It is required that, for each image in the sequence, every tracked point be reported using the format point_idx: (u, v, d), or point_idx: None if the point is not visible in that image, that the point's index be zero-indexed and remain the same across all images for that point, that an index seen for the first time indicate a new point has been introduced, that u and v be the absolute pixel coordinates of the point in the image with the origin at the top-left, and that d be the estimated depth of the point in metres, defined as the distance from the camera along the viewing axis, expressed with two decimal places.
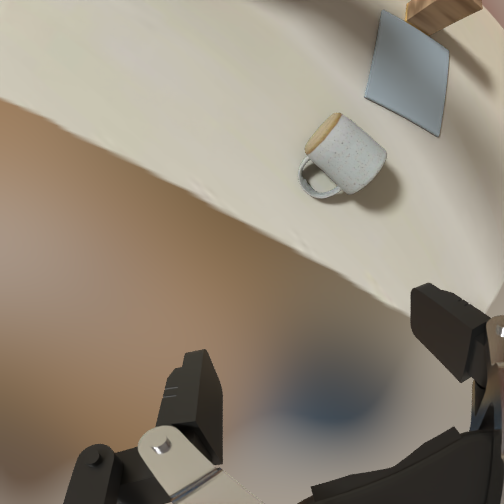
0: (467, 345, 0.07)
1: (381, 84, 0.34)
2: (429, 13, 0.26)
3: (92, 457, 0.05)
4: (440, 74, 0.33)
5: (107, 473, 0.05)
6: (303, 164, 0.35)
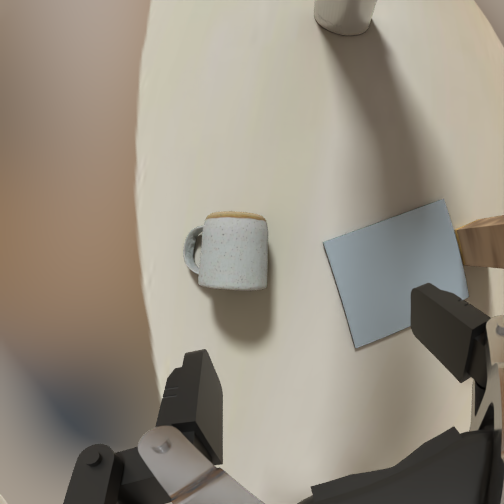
0: (467, 345, 0.07)
1: (352, 249, 0.34)
2: (479, 238, 0.27)
3: (92, 457, 0.05)
4: None
5: (107, 473, 0.05)
6: (200, 227, 0.35)
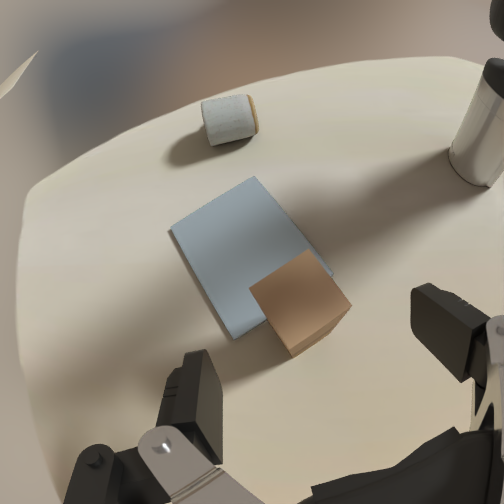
0: (467, 345, 0.07)
1: (254, 196, 0.40)
2: None
3: (92, 457, 0.05)
4: (216, 286, 0.36)
5: (107, 473, 0.05)
6: None
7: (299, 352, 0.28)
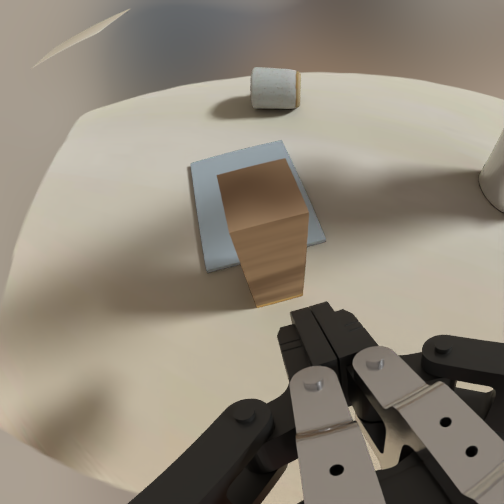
0: (341, 372, 0.08)
1: (274, 156, 0.40)
2: None
3: (244, 414, 0.06)
4: (210, 219, 0.36)
5: (268, 424, 0.06)
6: None
7: (261, 294, 0.28)
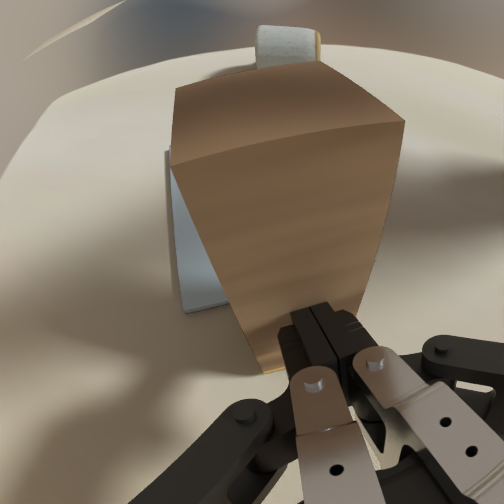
0: (341, 372, 0.08)
1: None
2: None
3: (244, 414, 0.06)
4: (192, 227, 0.23)
5: (268, 425, 0.06)
6: None
7: (272, 353, 0.14)
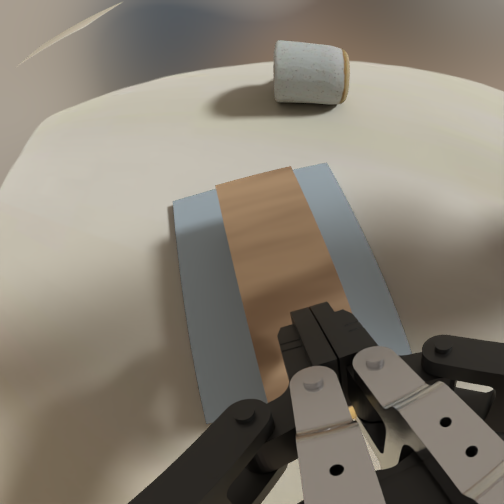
0: (341, 372, 0.08)
1: (319, 192, 0.23)
2: None
3: (244, 414, 0.06)
4: (209, 322, 0.19)
5: (268, 425, 0.06)
6: None
7: (277, 364, 0.13)
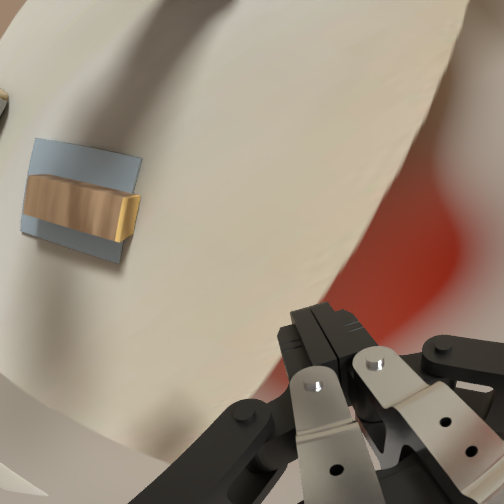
0: (341, 372, 0.08)
1: (46, 153, 0.31)
2: None
3: (244, 413, 0.06)
4: (78, 239, 0.35)
5: (268, 425, 0.06)
6: None
7: (93, 227, 0.30)
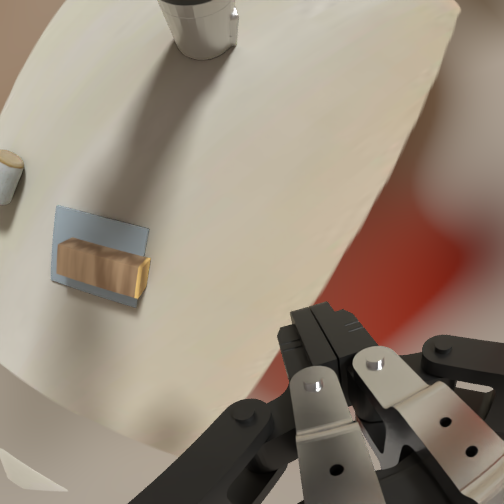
0: (341, 372, 0.08)
1: (68, 220, 0.42)
2: None
3: (244, 413, 0.06)
4: (102, 289, 0.46)
5: (268, 425, 0.06)
6: None
7: (116, 287, 0.41)
